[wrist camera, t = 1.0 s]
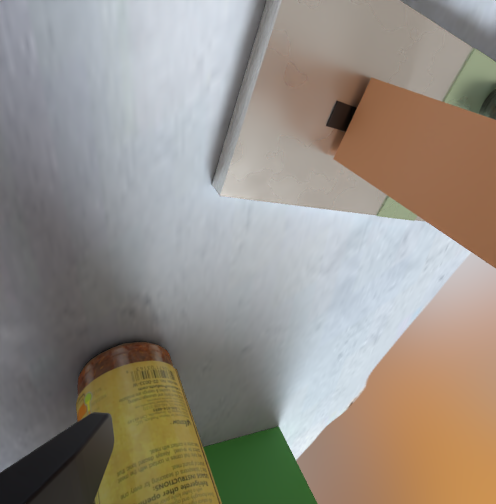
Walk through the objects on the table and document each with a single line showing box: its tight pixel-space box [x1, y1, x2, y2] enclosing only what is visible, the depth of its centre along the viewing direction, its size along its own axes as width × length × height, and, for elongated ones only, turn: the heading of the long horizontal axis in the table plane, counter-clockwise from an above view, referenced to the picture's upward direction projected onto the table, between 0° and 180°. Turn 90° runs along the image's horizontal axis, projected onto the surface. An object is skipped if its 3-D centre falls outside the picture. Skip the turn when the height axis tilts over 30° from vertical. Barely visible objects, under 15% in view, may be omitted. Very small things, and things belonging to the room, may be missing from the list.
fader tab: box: [333, 77, 496, 268], centre depth 13 cm, size 4×5×14 cm
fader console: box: [212, 0, 496, 221], centre depth 19 cm, size 18×10×3 cm, turn 69°
